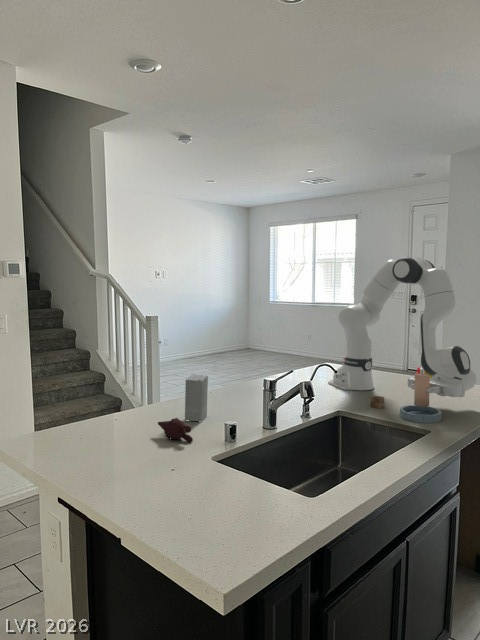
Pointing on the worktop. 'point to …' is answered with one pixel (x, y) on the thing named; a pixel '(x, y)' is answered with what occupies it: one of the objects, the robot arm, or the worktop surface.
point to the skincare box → (196, 397)
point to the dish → (420, 413)
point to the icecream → (176, 429)
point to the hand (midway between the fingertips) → (420, 388)
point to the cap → (418, 370)
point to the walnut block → (377, 402)
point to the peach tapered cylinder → (421, 389)
